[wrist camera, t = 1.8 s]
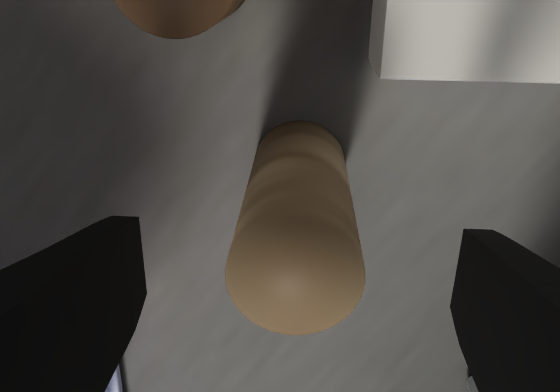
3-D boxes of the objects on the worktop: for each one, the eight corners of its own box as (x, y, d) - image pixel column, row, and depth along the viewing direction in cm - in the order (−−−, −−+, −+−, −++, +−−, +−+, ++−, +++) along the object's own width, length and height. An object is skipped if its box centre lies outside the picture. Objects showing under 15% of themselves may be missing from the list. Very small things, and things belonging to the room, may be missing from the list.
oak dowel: (255, 203, 18) (227, 332, 12) (254, 119, 17) (223, 212, 11) (341, 206, 18) (360, 338, 12) (347, 121, 17) (370, 217, 11)
